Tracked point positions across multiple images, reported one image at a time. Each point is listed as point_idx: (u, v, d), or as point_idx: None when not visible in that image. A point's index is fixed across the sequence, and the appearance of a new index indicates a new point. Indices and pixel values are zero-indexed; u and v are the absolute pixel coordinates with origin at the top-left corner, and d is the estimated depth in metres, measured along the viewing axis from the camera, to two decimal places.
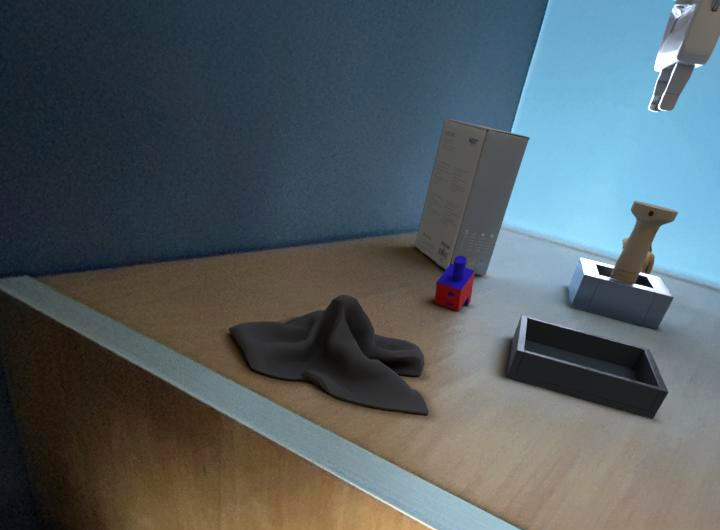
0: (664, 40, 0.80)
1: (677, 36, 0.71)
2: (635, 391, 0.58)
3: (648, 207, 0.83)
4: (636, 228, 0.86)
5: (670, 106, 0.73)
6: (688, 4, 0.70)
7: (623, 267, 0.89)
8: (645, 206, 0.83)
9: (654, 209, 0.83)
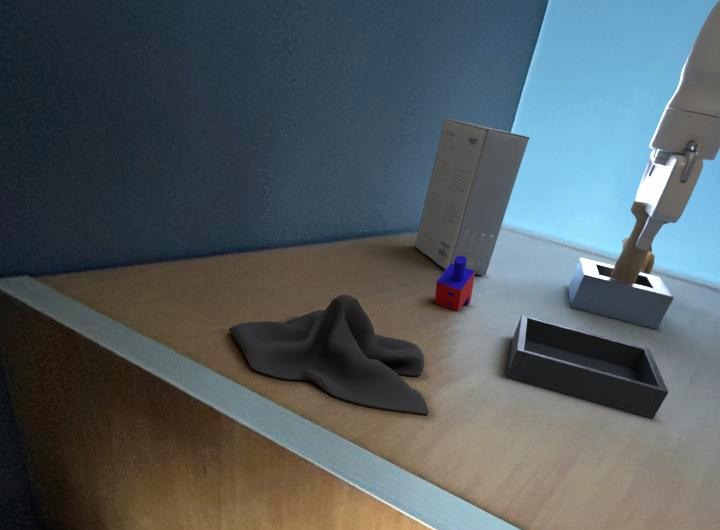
0: (644, 179, 0.90)
1: (653, 190, 0.81)
2: (635, 391, 0.58)
3: None
4: (636, 228, 0.86)
5: (645, 246, 0.84)
6: (662, 165, 0.80)
7: (623, 267, 0.89)
8: None
9: None
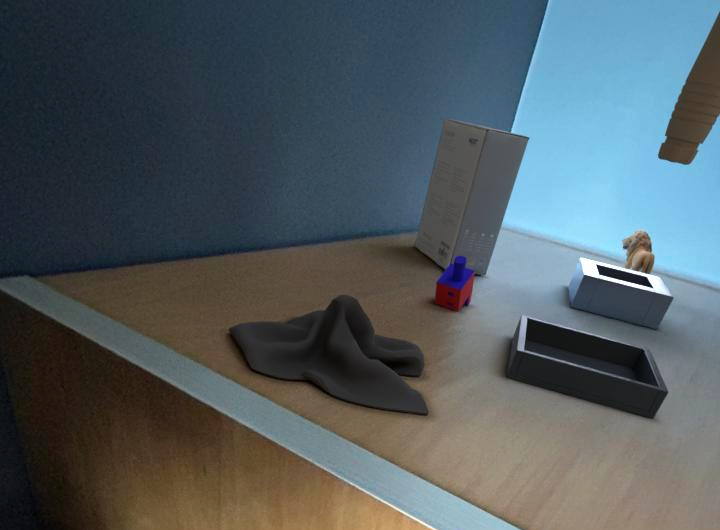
0: None
1: None
2: (635, 391, 0.58)
3: None
4: None
5: None
6: None
7: (703, 76, 0.50)
8: None
9: None
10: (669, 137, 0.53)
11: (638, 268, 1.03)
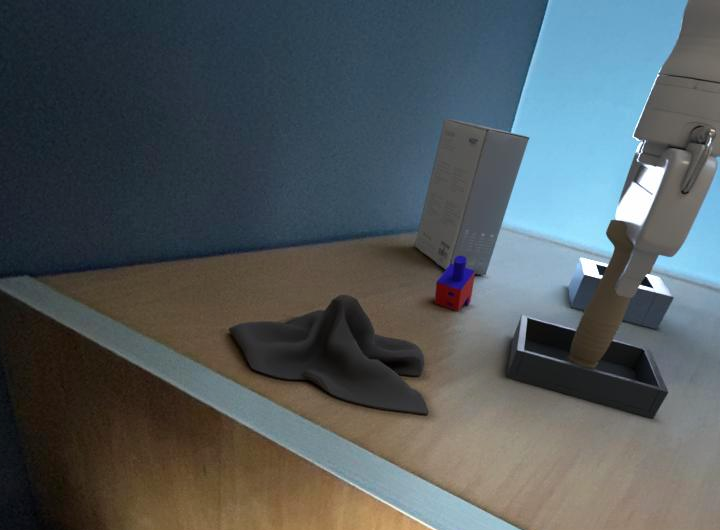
0: (627, 186, 0.61)
1: (639, 203, 0.53)
2: (635, 391, 0.58)
3: None
4: (614, 261, 0.57)
5: (630, 292, 0.55)
6: (653, 165, 0.51)
7: (595, 317, 0.60)
8: None
9: None
10: (572, 353, 0.64)
11: None
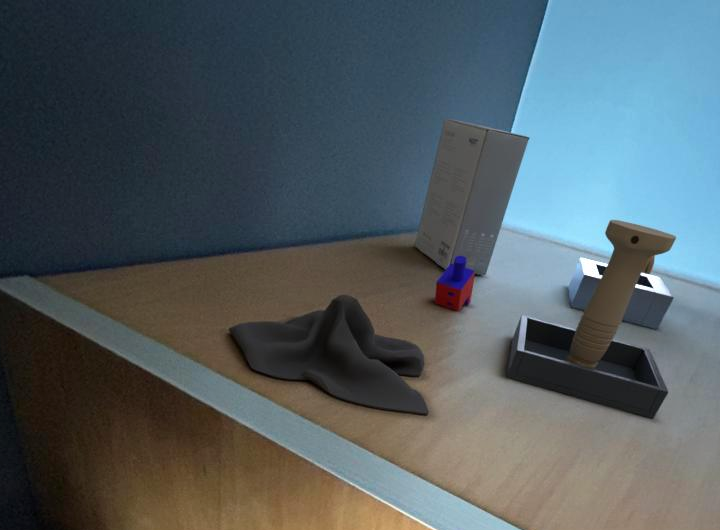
0: None
1: None
2: (635, 391, 0.58)
3: (630, 230, 0.55)
4: (613, 260, 0.58)
5: None
6: None
7: (595, 316, 0.60)
8: (626, 229, 0.55)
9: (639, 233, 0.54)
10: (572, 353, 0.64)
11: None
